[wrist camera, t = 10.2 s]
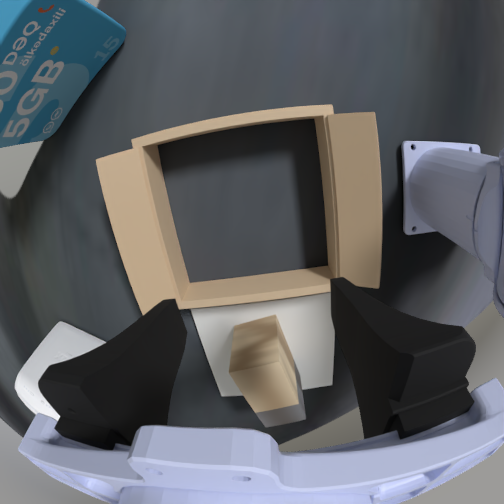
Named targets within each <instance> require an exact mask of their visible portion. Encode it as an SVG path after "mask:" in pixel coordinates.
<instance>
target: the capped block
mask: <svg viewBox="0 0 504 504" xmlns="http://www.w3.org/2000/svg"><path fill="white" fill-rule="evenodd" d="M229 374H230V376H231V377H232V379H233V380H234V382H235V384H236V385H237V387H238V388H239V390H240V391H241V393H242V394H243V396H244V397H245V399H246V400H247V402H248V403H249V404H250V406H251V407H252V409H253V410H254V412H255V413H256V415H257V416H258V417H259V419H260V420H261V422H262V423H263V424H264V426H265V427H272V426H277V425H282V424H287V423H292V422H297V421H301V420H305V419H306V414H305V407H304V399H303V392H302V385H301V378H300V374H299V371H298V369H297V366H296V364H295V361H294V359H293V356H292V354H291V351H290V349H289V346H288V344H287V341H286V339H285V336H284V334H283V331H282V329H281V326H280V324H279V321H278V319H277V316H276V314H275V315H271V316H268V317H264V318H261V319H257V320H253V321H250V322H246V323H242V324H239V325H235V326H234V332H233V340H232V349H231V357H230V365H229Z"/></svg>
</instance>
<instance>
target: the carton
mask: <svg viewBox="0 0 504 504" xmlns="http://www.w3.org/2000/svg"><path fill="white" fill-rule="evenodd" d="M303 119H315V126H316V133H317V141H318V149H319V157H320V166H321V175H322V185H323V195H324V207H325V220H326V235H327V254H328V266H321V267H314V268H307V269H299V270H292V271H284V272H277V273H269V274H262V275H254V276H246V277H238V278H229V279H221V280H212V281H204V282H195V283H190V282H189V278H188V275H187V271H186V268H185V264H184V260H183V257H182V253H181V249H180V245H179V241H178V237H177V233H176V229H175V225H174V221H173V217H172V213H171V208H170V204H169V200H168V195H167V191H166V186H165V181H164V177H163V172H162V167H161V162H160V157H159V151H158V146H157V145H159V144H163V143H167V142H171V141H175V140H179V139H183V138H188V137H192V136H197V135H201V134H206V133H211V132H216V131H222V130H227V129H233V128H239V127H245V126H252V125H259V124H266V123H274V122H283V121H292V120H303ZM132 145H133V149H130V150H127V151H123V152H119V153H116V154H112V155H109V156H106V157H103V158H99V159H96V164H97V169H98V173H99V178H100V182H101V187H102V191H103V195H104V199H105V203H106V207H107V211H108V214H109V218H110V222H111V225H112V229H113V232H114V235H115V239H116V242H117V245H118V248H119V251H120V255H121V258H122V261H123V264H124V267H125V269H126V272H127V275H128V278H129V281H130V283H131V286H132V289H133V292H134V294H135V297H136V299H137V302H138V304H139V307H140V309H141V312H142V314H143V315H144V314H146V313H147V312H148V311H149V310H151V309H152V308H153V307H154V306H155V305H157V304H158V303H159V302H161V301H162V300H165V299H176V302H177V305H178V308H179V309H189V308H200V307H211V306H221V305H231V304H240V303H249V302H258V301H266V300H274V299H282V298H289V297H297V296H304V295H311V294H318V293H324V292H331V290H330V279H333V278H339V277H344V278H346V279H347V280H349V281H350V282H351V283H353V284H354V285H356V286H360V287H369V288H378V289H379V286H380V275H381V256H382V186H381V168H380V154H379V143H378V133H377V125H376V117H375V112H361V113H344V114H334V112H333V106H332V105H313V106H300V107H289V108H279V109H271V110H263V111H255V112H249V113H242V114H236V115H230V116H225V117H219V118H214V119H209V120H204V121H200V122H195V123H191V124H186V125H182V126H178V127H174V128H170V129H166V130H162V131H159V132H155V133H152V134H148V135H145V136H141V137H138V138H135V139H132Z"/></svg>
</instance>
